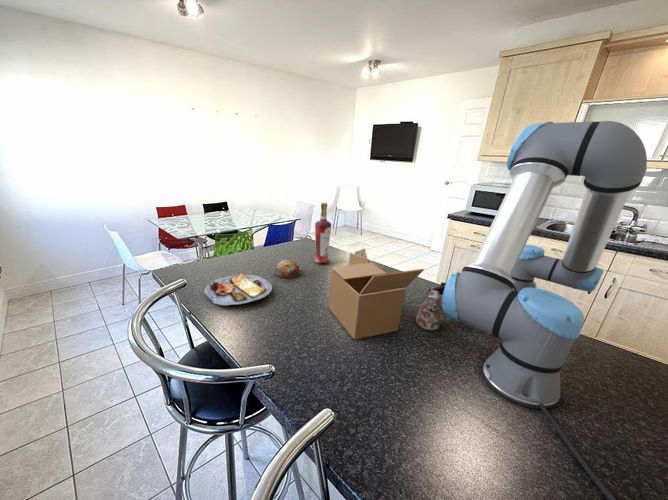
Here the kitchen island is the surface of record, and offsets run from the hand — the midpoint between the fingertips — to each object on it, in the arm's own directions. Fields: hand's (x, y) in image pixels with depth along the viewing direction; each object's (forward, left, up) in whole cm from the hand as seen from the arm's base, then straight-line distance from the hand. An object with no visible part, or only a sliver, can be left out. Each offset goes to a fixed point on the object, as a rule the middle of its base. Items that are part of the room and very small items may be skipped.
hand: (444, 302), depth 93 cm
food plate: (+38, +60, -7) cm, 71 cm away
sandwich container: (+29, +10, -7) cm, 31 cm away
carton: (+9, +24, -7) cm, 26 cm away
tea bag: (+44, +6, -7) cm, 45 cm away
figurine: (0, +5, -7) cm, 9 cm away
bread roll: (+50, +37, -7) cm, 63 cm away
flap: (-3, +24, +12) cm, 27 cm away
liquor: (+58, +18, -7) cm, 61 cm away
